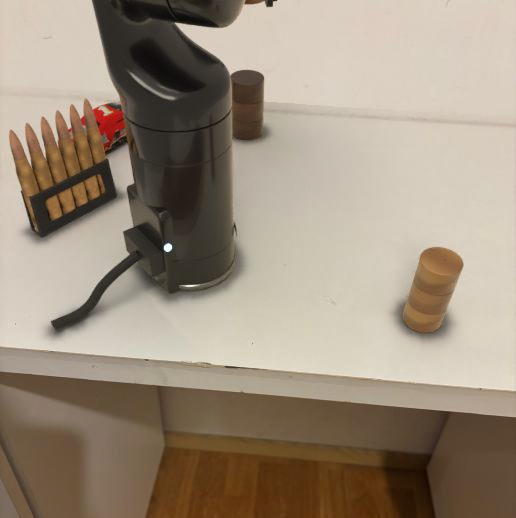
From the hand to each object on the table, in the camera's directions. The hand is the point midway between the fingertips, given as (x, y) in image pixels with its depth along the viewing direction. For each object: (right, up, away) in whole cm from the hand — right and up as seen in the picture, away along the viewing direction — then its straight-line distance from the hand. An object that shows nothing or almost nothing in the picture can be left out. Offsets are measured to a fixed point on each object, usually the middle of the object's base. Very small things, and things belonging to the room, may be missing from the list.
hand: (247, 4), depth 67 cm
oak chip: (0, +1, 0) cm, 1 cm away
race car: (-19, -13, +10) cm, 25 cm away
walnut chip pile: (0, -10, +12) cm, 16 cm away
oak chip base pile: (+17, -37, -11) cm, 42 cm away
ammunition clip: (-20, -25, 0) cm, 32 cm away
